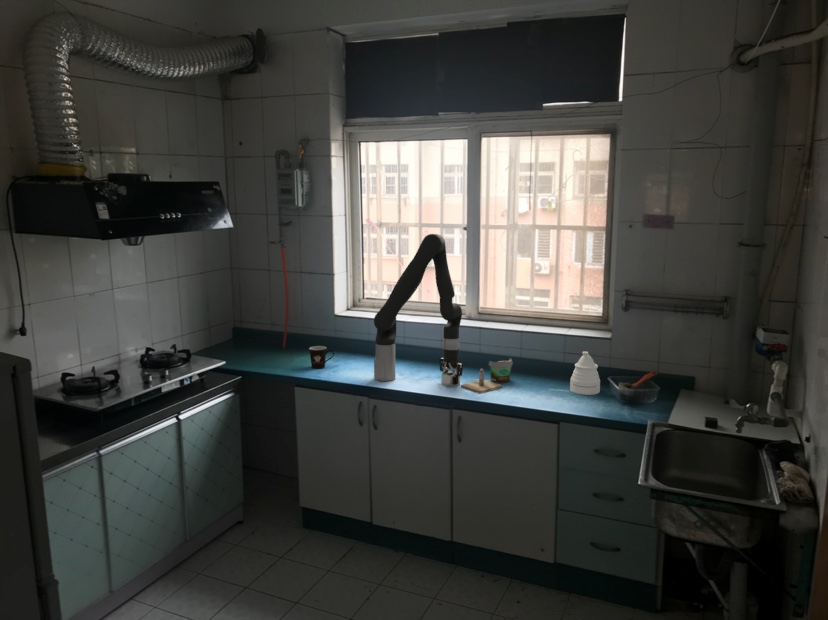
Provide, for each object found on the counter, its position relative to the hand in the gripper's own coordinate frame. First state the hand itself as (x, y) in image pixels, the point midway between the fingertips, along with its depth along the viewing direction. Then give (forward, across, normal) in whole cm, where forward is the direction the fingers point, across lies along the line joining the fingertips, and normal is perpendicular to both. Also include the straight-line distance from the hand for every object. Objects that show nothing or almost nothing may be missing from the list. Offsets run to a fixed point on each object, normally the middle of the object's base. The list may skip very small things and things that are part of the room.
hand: (450, 382), depth 297 cm
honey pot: (+1, +44, +41) cm, 60 cm away
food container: (+1, +12, +22) cm, 25 cm away
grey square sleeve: (+1, 0, 0) cm, 1 cm away
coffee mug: (+1, -62, -32) cm, 70 cm away
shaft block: (+1, +12, +8) cm, 14 cm away
